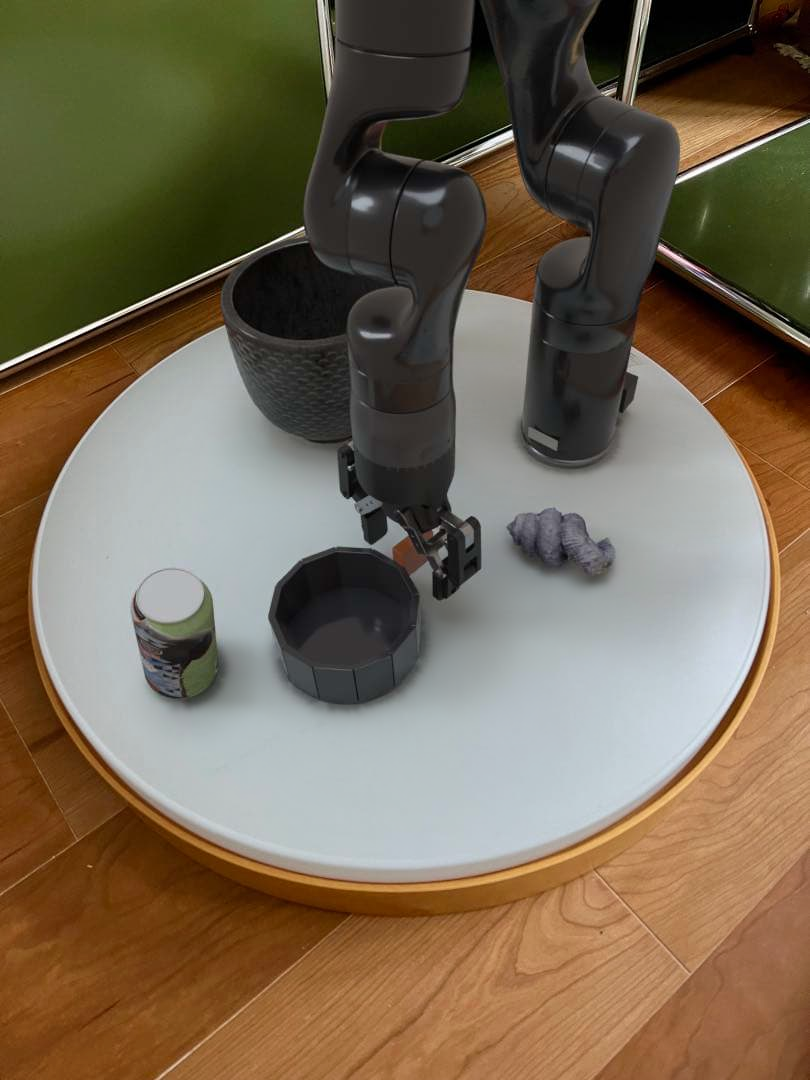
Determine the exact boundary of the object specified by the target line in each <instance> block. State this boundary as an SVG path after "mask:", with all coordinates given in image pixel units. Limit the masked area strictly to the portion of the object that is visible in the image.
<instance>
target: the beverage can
mask: <svg viewBox="0 0 810 1080" xmlns="http://www.w3.org/2000/svg"><path fill="white" fill-rule="evenodd" d="M214 610H215V609H214V599H213V594H212V593H211V590H210V588H209V587H208V585H207V584H206V583H205V582H204V581H203V580H202V579H200V578H199V577H198V576H197V575H196V574H194V573H193V572H192V571H190V570H187V569H184V568H179V567H165V568H161V569H158V570H155V571H153V572H151V573H150V574H148V575H147V576H145V577H144V579H143V580H141V582H140V584H139V585H138V587H137V589H136V590H135V592H134V593H133V596H132V597H131V601H130V615H131V620H132V624H133V629H134V630H133V631H134V633H135V638H136V643H137V647H138V652H139V656H140V660H141V666H142V669H143V670H142V671H143V674H144V678H145V680H146V683H147V685H148V686H149V687H150V688H151V689H152V690H153V691H154V692H155V693H157V694H158V695H160V696H161V697H165V698H168V699H175V700H176V699H177V700H183V699H189V698H192V697H195V696H197V695H199V694H200V693H202V692H204V691H205V690H207V688H209V687H210V686H211V684H212V683H213V682H214V681H215V678H216V677H217V673H218V671H219V655H218V654H219V653H218V644H217V632H216V622H215V611H214Z"/></svg>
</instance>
